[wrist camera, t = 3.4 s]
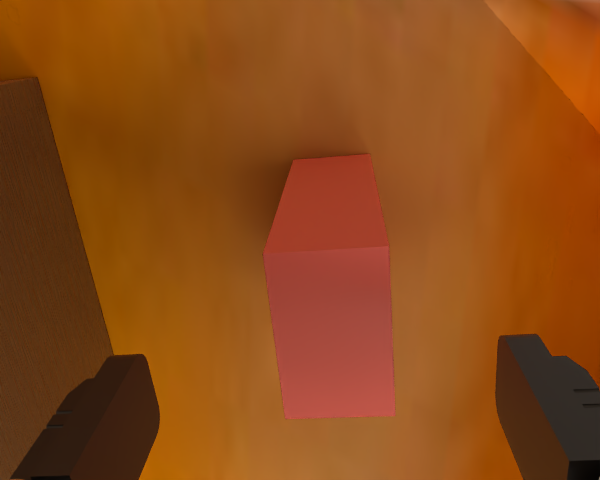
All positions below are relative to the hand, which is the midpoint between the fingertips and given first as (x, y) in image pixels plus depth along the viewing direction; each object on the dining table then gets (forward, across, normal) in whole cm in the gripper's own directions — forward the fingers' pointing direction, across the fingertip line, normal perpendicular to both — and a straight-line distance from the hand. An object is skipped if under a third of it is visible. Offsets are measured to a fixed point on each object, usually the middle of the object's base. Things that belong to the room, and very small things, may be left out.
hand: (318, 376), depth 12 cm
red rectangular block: (+11, 0, 0) cm, 11 cm away
